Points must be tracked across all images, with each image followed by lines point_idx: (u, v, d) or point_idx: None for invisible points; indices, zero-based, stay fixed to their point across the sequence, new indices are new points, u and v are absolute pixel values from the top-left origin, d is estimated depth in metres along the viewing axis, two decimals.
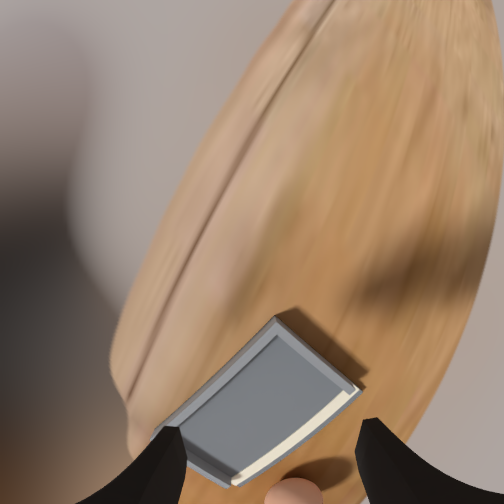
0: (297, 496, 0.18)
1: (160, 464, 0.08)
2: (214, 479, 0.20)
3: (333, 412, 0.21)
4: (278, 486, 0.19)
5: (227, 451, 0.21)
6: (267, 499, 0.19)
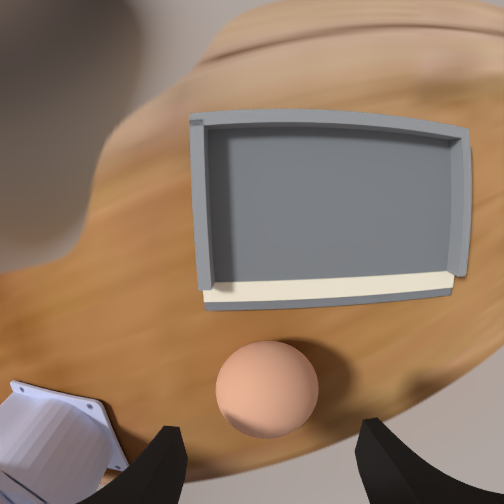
0: (305, 376, 0.13)
1: (160, 464, 0.08)
2: (202, 258, 0.14)
3: (415, 290, 0.15)
4: (278, 343, 0.14)
5: (260, 231, 0.14)
6: (248, 353, 0.13)
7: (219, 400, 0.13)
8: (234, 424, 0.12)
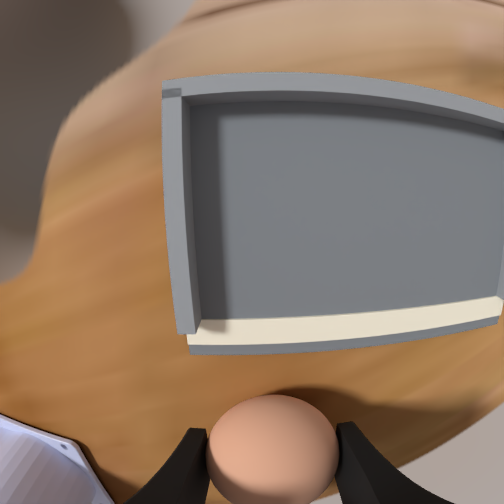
0: (325, 447, 0.08)
1: (191, 467, 0.08)
2: (181, 291, 0.09)
3: (460, 321, 0.11)
4: (288, 403, 0.10)
5: (265, 250, 0.10)
6: (248, 419, 0.09)
7: (209, 472, 0.09)
8: (229, 500, 0.08)
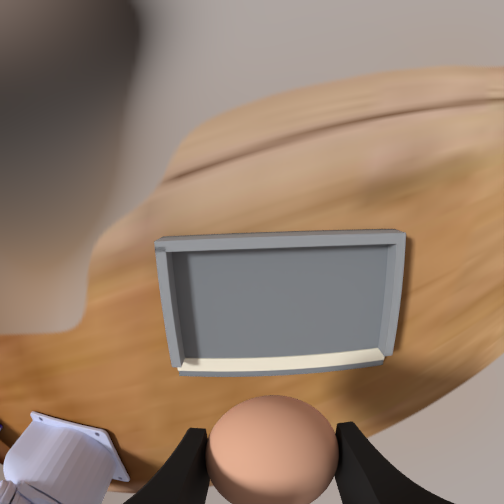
0: (324, 448, 0.08)
1: (191, 467, 0.08)
2: (173, 347, 0.17)
3: (347, 363, 0.19)
4: (288, 404, 0.10)
5: (216, 324, 0.18)
6: (248, 419, 0.09)
7: (209, 473, 0.09)
8: (229, 501, 0.08)
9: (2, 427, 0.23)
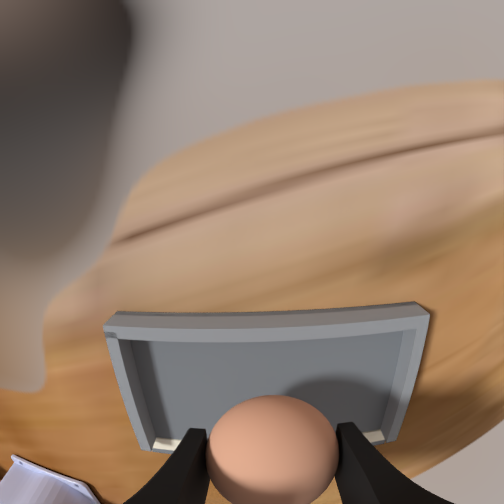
0: (324, 448, 0.08)
1: (191, 467, 0.08)
2: (139, 433, 0.13)
3: None
4: (288, 403, 0.10)
5: (188, 411, 0.14)
6: (248, 419, 0.09)
7: (209, 473, 0.09)
8: (229, 501, 0.08)
9: None
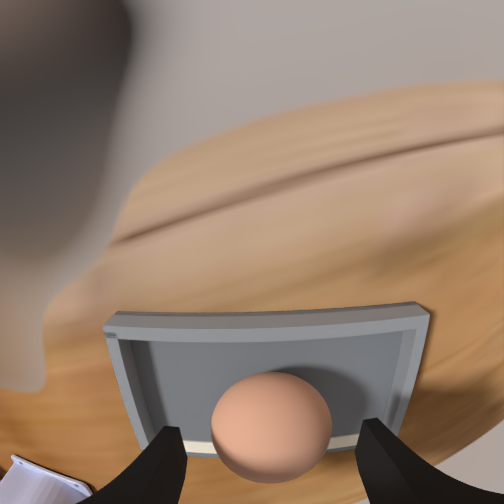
0: (318, 417, 0.10)
1: (160, 464, 0.08)
2: (139, 433, 0.13)
3: (343, 445, 0.15)
4: (285, 377, 0.11)
5: (188, 411, 0.14)
6: (249, 390, 0.10)
7: (214, 443, 0.10)
8: (233, 470, 0.10)
9: None
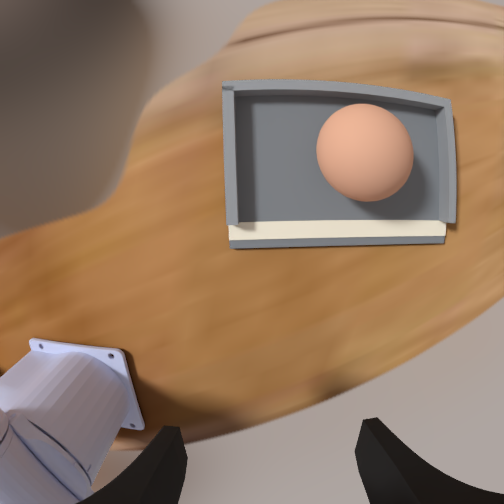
0: None
1: (160, 464, 0.08)
2: (231, 197, 0.16)
3: (411, 235, 0.17)
4: None
5: (279, 178, 0.17)
6: (349, 105, 0.13)
7: (330, 141, 0.13)
8: (350, 160, 0.12)
9: None
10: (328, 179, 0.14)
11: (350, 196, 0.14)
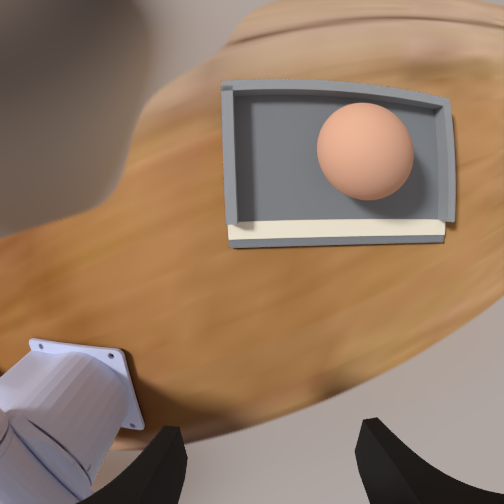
0: (401, 122, 0.13)
1: (160, 464, 0.08)
2: (230, 196, 0.16)
3: (411, 234, 0.17)
4: None
5: (278, 177, 0.17)
6: (349, 104, 0.13)
7: (331, 139, 0.13)
8: (352, 158, 0.12)
9: None
10: (329, 178, 0.14)
11: (351, 195, 0.14)
